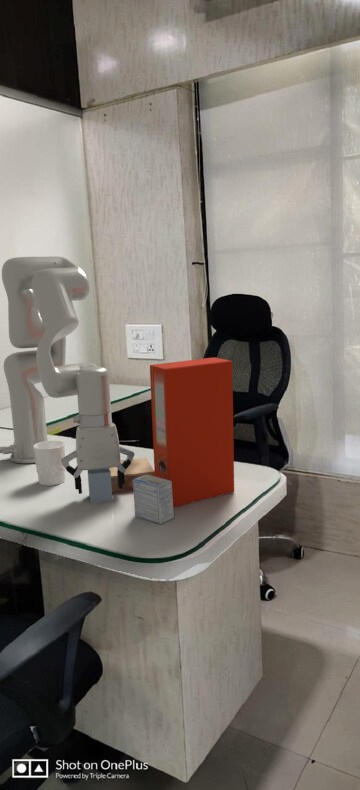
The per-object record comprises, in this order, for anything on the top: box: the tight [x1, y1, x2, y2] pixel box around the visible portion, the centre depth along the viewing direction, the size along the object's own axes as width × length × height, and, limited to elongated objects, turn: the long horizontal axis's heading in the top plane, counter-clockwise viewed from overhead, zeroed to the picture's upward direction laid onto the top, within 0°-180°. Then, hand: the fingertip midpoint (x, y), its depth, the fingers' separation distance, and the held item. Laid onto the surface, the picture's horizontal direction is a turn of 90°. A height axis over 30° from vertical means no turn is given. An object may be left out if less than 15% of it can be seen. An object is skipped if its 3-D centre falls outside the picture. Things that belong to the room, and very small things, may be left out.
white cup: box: [33, 440, 66, 487], centre depth 159 cm, size 8×8×10 cm
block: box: [87, 468, 113, 503], centre depth 146 cm, size 5×5×7 cm
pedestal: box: [109, 457, 155, 493], centre depth 157 cm, size 12×12×4 cm
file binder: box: [149, 357, 235, 508], centre depth 143 cm, size 8×17×32 cm, turn 119°
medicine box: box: [132, 475, 175, 525], centre depth 133 cm, size 8×4×9 cm, turn 48°
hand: (100, 489), depth 146 cm, fingers open, 9 cm apart
